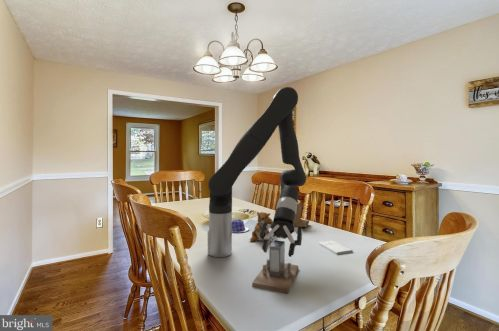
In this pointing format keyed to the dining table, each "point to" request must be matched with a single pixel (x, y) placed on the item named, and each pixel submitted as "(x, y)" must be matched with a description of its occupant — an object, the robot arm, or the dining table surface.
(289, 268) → the wooden peg stand
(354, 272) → the dining table surface
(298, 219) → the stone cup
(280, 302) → the dining table surface
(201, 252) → the dining table surface
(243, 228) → the pudding
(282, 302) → the dining table surface
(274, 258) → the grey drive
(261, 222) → the stuffed squirrel
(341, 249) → the external hard drive
